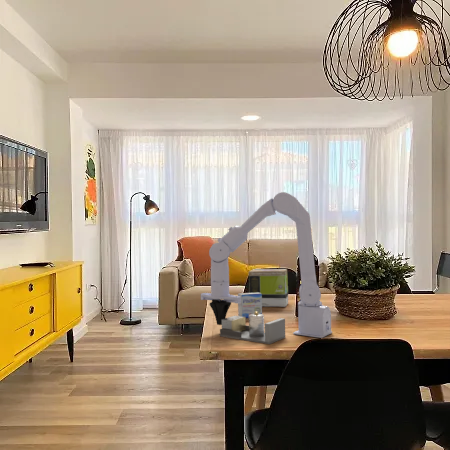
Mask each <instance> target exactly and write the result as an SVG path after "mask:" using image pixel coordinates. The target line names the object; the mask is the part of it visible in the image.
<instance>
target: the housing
mask: <svg viewBox="0 0 450 450" xmlns="http://www.w3.org/2000/svg"><path fill="white" fill-rule="evenodd" d="M248 326H249V336H251V337H263V336H264V333H265V315H264V314H263V313H262V314H258V312H254V314H250V315H249V318H248Z"/></svg>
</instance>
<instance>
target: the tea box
mask: <svg viewBox="0 0 450 450" xmlns="http://www.w3.org/2000/svg"><path fill="white" fill-rule="evenodd" d="M288 279H289V278H288V269H287V268H278V269H277V268H266V269H265V268H264V269H263V268H262V269H258V268H257V269H256V268H255V269H254V268H253V269H252V270H249V271H248V281H249V282H248V286H249V288H248V289H249V292H248V293H256V292H259V293H261V294H262V307H276V308H278V307H282V308H285V307H287V305H288V304H289V286H288V284H289V282H288Z"/></svg>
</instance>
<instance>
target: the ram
mask: <svg viewBox="0 0 450 450" xmlns="http://www.w3.org/2000/svg"><path fill="white" fill-rule="evenodd" d="M246 319H247V318H245V317H242V316H238V315H233V316H228V317H226V318H225V319H222V325H221V329H225V330H232V331H239V332H241V331H244V330H246Z"/></svg>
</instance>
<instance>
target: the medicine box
mask: <svg viewBox="0 0 450 450" xmlns="http://www.w3.org/2000/svg"><path fill="white" fill-rule="evenodd" d="M237 296H241V303H238V304H237V308H238V313H237V314H238V315H237V316H242V317H245V319H249V315H250V314H254V312H258V314H263V306H262V294H261V293H259V292H256V293H249V292H245V293H244V292H241V293H237Z"/></svg>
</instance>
